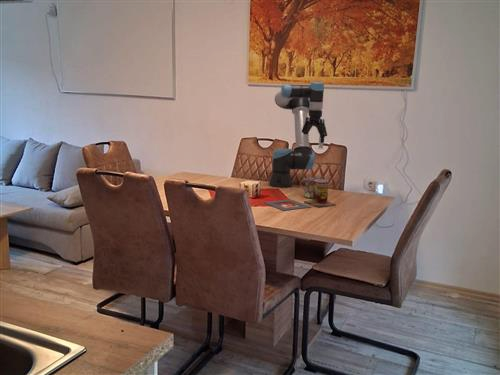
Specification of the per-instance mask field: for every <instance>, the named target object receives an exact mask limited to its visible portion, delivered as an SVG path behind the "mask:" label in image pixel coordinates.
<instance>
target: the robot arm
mask: <svg viewBox="0 0 500 375" xmlns="http://www.w3.org/2000/svg"><path fill="white" fill-rule="evenodd" d="M324 90H325V83H324V82H323V81H311V82H310V84H292V83H291V84H290V83H286V84H282V85H281V89H280V91H278V92H277V93H276V94H275V96H274V102H275V104H276V105H277V106H278V107H279V108H281V109H283V110H291V114H293V116H294V136H295V147H294V148H293V150H292V148H278V149H275V150H273V152H272V153H273V154H272V166H271V170H272V171H271V175H270V178H269V181H268V186H270V187H274V188H290V187H293V180H292V176H291V170H300V171H301V170H303V171H305V170H312V169H313V167H314V164H315V159H316V153H315V151H313V150H312V149H313V148H312V147H311V146H310V140H309V139H310V138H309V136H310V135H309V133H310V130H312V128H313V127H315V128H316V130H317V132H318V134H319V137H318V149H319V150H321V149H324V143H325V138H326V137H328V133H327V128H326V123H325V119H324V118H321V117H323V106H324V104H323V103H324Z"/></svg>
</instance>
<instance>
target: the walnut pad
mask: <svg viewBox="0 0 500 375" xmlns="http://www.w3.org/2000/svg"><path fill="white" fill-rule="evenodd" d="M303 204H305V205H308V206H311V207H315V208H318V209H319V208H329V207H334V206H335V207H336V206H337V205H336V203H335V202H331V201H329V200H327V204H316V203H313V199H310V200H304V201H303Z"/></svg>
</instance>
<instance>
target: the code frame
mask: <svg viewBox="0 0 500 375" xmlns="http://www.w3.org/2000/svg"><path fill="white" fill-rule="evenodd" d="M284 203H287V204H284ZM263 204H265V205H268V206H270V207H273V208H276V209H277V210H279V211H283V212H287V211H295V210H296V211H297V210H302V209H311V208H312V205H309V204H306V203H304V202H299V201H297V200H294V199H292V198H290V199H282V200H273V201H271V200H270V201H264V202H263ZM279 204H280V205H279ZM293 204H294V205H295V206H293ZM296 205H297V206H296Z"/></svg>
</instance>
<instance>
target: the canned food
mask: <svg viewBox="0 0 500 375" xmlns="http://www.w3.org/2000/svg"><path fill="white" fill-rule="evenodd" d="M329 184H330V183H329V180H328V179H321V178H318V179H316V180H314V187H313V198H312V200H313V203H316V204H327V201H328V195H329Z"/></svg>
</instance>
